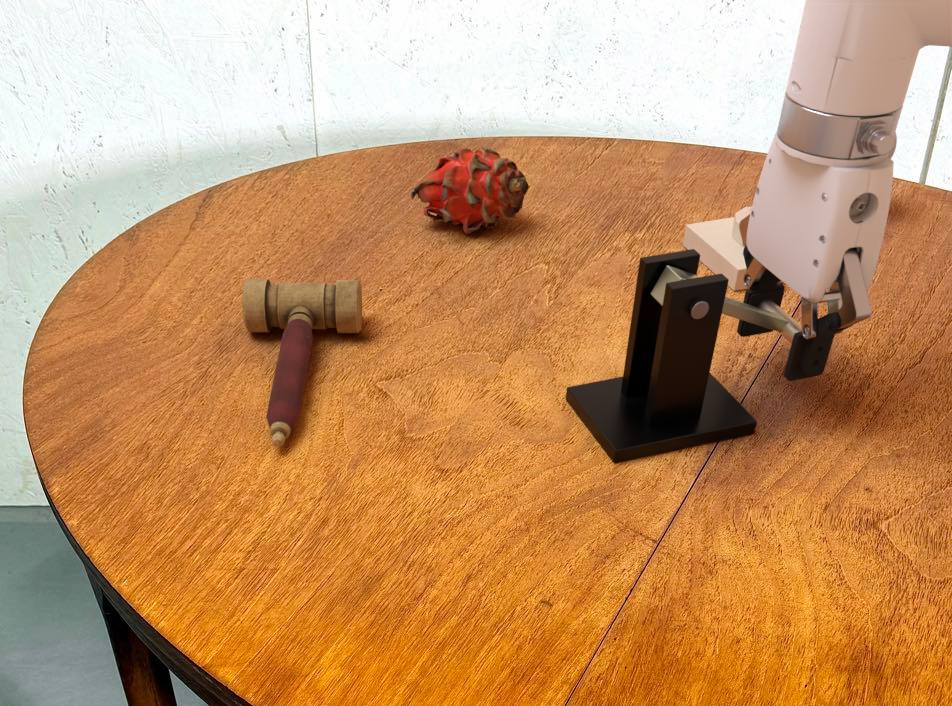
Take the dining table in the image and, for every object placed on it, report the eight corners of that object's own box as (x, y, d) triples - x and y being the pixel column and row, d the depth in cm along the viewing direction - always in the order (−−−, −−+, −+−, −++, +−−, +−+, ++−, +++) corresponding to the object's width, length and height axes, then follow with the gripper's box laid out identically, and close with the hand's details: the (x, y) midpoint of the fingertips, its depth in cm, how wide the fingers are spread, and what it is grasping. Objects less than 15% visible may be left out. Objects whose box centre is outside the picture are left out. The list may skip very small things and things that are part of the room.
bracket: (697, 373, 89) (725, 229, 80) (754, 433, 82) (792, 284, 74) (565, 399, 86) (580, 253, 78) (613, 463, 80) (636, 311, 71)
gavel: (341, 421, 78) (207, 419, 79) (345, 467, 82) (216, 466, 82) (360, 269, 93) (247, 268, 93) (363, 314, 96) (253, 313, 97)
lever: (762, 322, 85) (779, 295, 84) (805, 360, 81) (823, 333, 80) (637, 282, 79) (654, 253, 78) (676, 321, 75) (694, 290, 74)
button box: (786, 228, 109) (795, 190, 106) (844, 271, 102) (855, 232, 99) (682, 245, 106) (688, 207, 104) (733, 291, 99) (742, 251, 97)
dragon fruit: (534, 243, 110) (420, 257, 112) (528, 169, 112) (416, 185, 114) (531, 201, 102) (408, 217, 104) (524, 122, 104) (403, 139, 106)
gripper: (969, 166, 67) (886, 404, 79) (812, 78, 79) (761, 295, 91) (866, 181, 65) (798, 423, 77) (722, 89, 77) (682, 309, 89)
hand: (778, 352), depth 84 cm, fingers closed on lever, 6 cm apart
